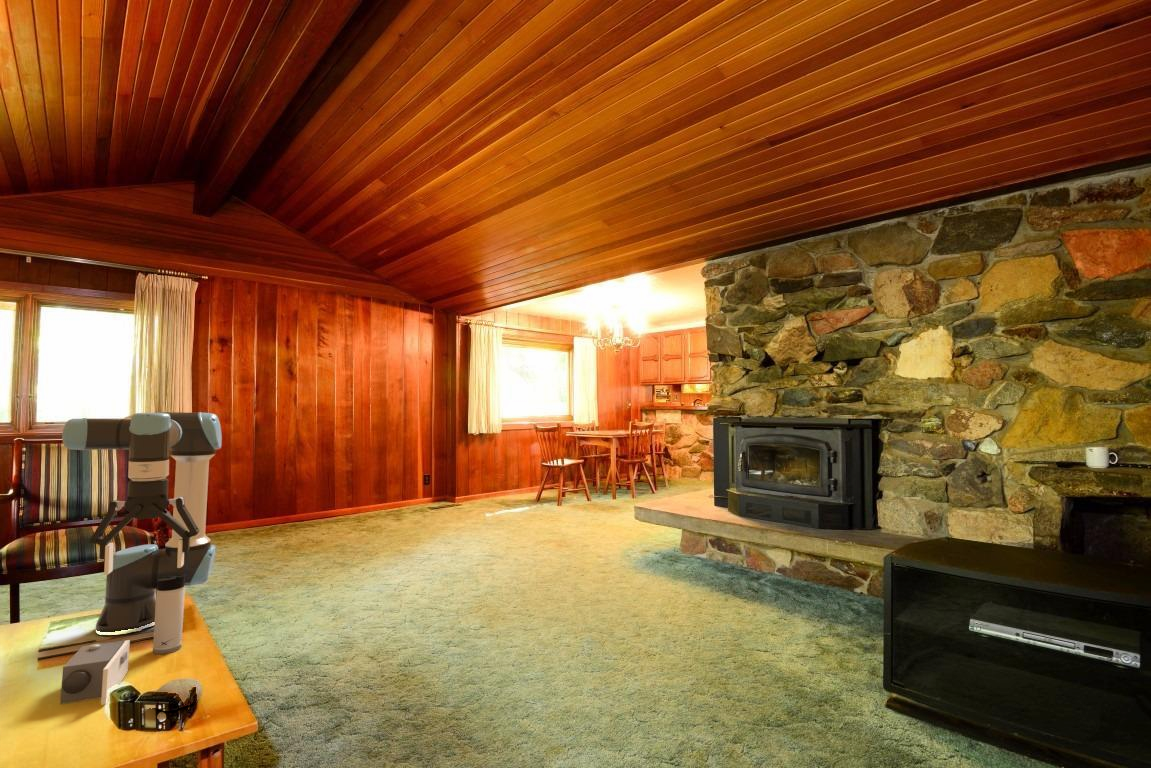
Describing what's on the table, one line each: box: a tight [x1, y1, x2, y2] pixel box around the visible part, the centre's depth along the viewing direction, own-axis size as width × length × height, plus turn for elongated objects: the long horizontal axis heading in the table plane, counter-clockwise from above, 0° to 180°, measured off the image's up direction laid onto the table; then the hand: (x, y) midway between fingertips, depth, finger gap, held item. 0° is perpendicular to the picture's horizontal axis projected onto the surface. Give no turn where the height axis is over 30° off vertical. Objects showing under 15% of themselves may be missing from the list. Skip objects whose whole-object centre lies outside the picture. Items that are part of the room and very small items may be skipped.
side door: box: [100, 639, 131, 706], centre depth 127 cm, size 17×1×8 cm, turn 27°
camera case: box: [59, 640, 125, 705], centre depth 127 cm, size 14×8×9 cm, turn 27°
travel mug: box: [152, 574, 186, 655], centre depth 149 cm, size 6×7×20 cm
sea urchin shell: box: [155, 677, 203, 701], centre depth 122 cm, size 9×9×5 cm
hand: (145, 569), depth 127 cm, fingers open, 13 cm apart
